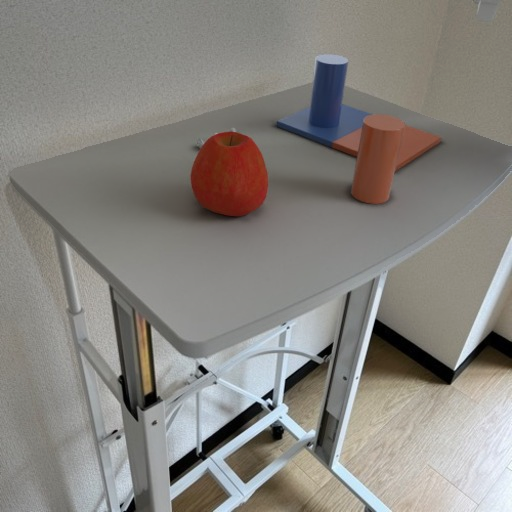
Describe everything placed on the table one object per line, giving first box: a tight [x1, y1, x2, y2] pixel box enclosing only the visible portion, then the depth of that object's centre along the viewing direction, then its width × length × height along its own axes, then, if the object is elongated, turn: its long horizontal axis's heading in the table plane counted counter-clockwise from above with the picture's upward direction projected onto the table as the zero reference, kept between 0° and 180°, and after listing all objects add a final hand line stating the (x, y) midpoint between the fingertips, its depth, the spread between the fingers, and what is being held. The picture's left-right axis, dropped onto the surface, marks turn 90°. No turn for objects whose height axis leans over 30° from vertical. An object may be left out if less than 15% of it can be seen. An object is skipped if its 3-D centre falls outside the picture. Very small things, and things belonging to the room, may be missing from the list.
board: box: [276, 103, 442, 172], centre depth 97 cm, size 24×16×1 cm, turn 49°
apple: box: [189, 130, 269, 217], centre depth 72 cm, size 10×10×10 cm
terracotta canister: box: [350, 113, 406, 205], centre depth 77 cm, size 6×6×11 cm
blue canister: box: [309, 53, 349, 128], centre depth 95 cm, size 6×6×11 cm
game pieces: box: [196, 127, 237, 150], centre depth 90 cm, size 8×2×2 cm, turn 129°
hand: (481, 11), depth 63 cm, fingers open, 8 cm apart
